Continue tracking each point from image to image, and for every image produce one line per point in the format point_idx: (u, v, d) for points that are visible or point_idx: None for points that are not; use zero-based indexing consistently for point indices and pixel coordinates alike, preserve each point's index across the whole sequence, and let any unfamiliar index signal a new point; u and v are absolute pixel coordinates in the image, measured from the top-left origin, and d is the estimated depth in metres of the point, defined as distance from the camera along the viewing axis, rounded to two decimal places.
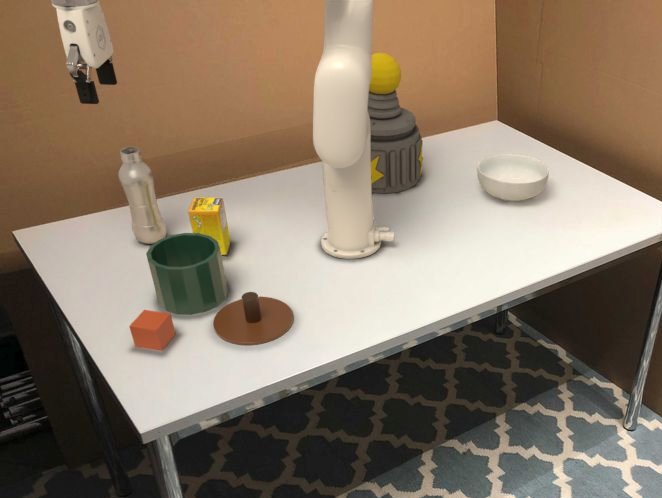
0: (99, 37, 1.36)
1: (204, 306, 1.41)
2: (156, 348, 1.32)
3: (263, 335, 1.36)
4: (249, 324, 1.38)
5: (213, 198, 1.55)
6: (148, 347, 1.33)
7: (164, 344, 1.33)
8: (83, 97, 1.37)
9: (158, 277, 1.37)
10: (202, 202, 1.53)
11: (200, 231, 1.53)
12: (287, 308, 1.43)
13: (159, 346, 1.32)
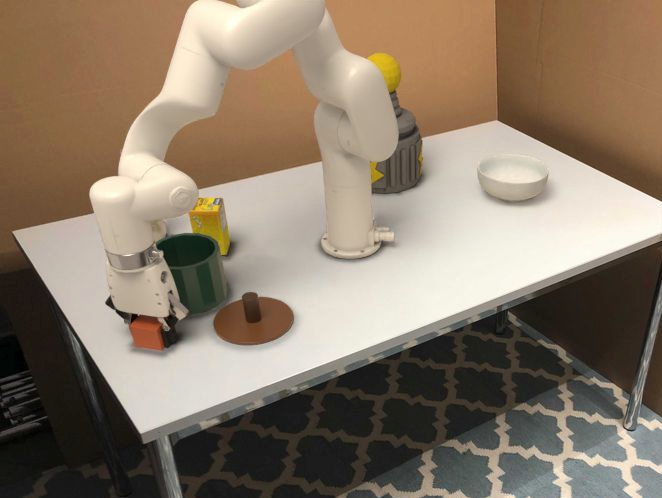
0: None
1: (204, 306, 1.41)
2: (156, 348, 1.32)
3: (263, 335, 1.36)
4: (249, 324, 1.38)
5: (213, 198, 1.55)
6: (148, 347, 1.33)
7: None
8: (173, 339, 1.33)
9: None
10: (202, 202, 1.53)
11: (200, 231, 1.53)
12: (287, 308, 1.43)
13: (159, 346, 1.32)
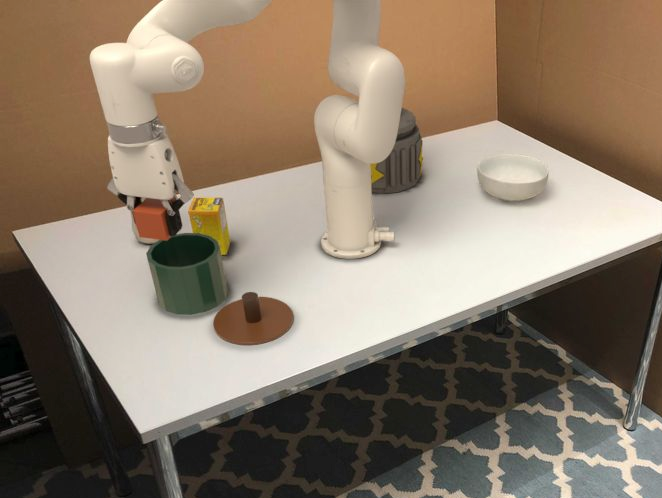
0: None
1: (204, 306, 1.41)
2: (161, 235, 1.28)
3: (263, 335, 1.36)
4: (249, 324, 1.38)
5: (213, 198, 1.55)
6: (152, 234, 1.28)
7: None
8: (178, 227, 1.29)
9: (158, 277, 1.37)
10: (202, 202, 1.53)
11: (200, 231, 1.53)
12: (287, 308, 1.43)
13: (164, 233, 1.28)
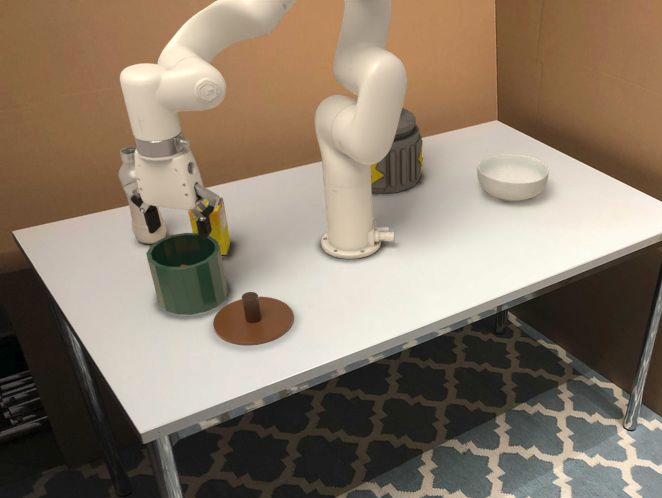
0: None
1: (204, 306, 1.41)
2: None
3: (263, 335, 1.36)
4: (249, 324, 1.38)
5: None
6: None
7: None
8: (208, 231, 1.36)
9: (158, 277, 1.37)
10: None
11: None
12: (287, 308, 1.43)
13: None
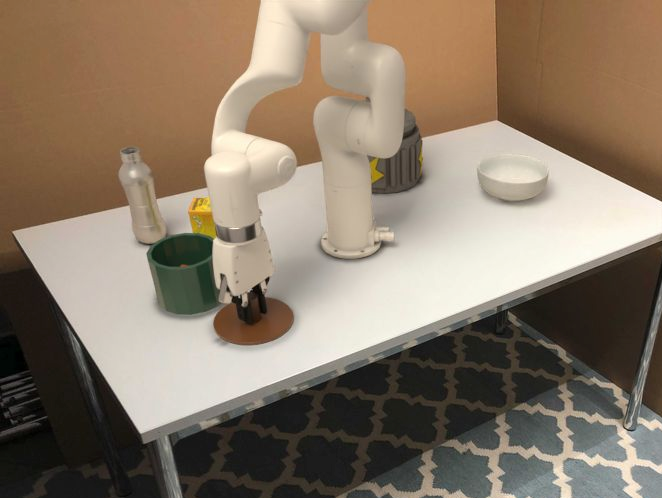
0: None
1: (204, 306, 1.41)
2: None
3: (263, 335, 1.36)
4: (249, 324, 1.38)
5: None
6: None
7: None
8: None
9: (158, 277, 1.37)
10: (202, 202, 1.53)
11: (200, 231, 1.53)
12: (287, 308, 1.43)
13: None
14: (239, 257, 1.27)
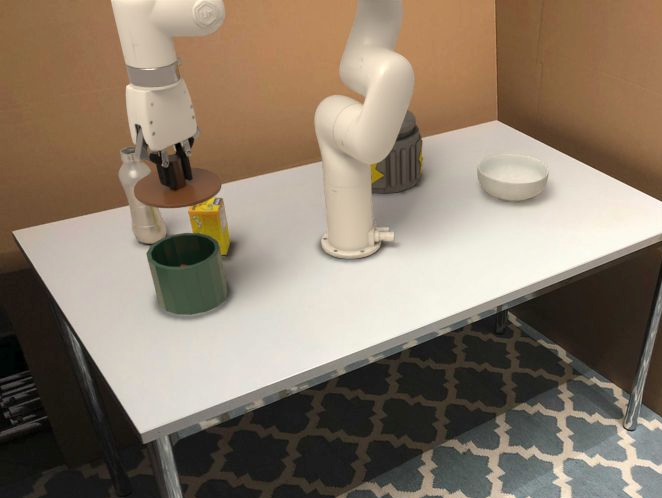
0: None
1: (204, 306, 1.41)
2: None
3: (186, 199, 1.27)
4: (173, 190, 1.29)
5: (213, 198, 1.55)
6: None
7: None
8: None
9: (158, 277, 1.37)
10: None
11: (200, 231, 1.53)
12: (215, 177, 1.33)
13: None
14: (154, 105, 1.18)
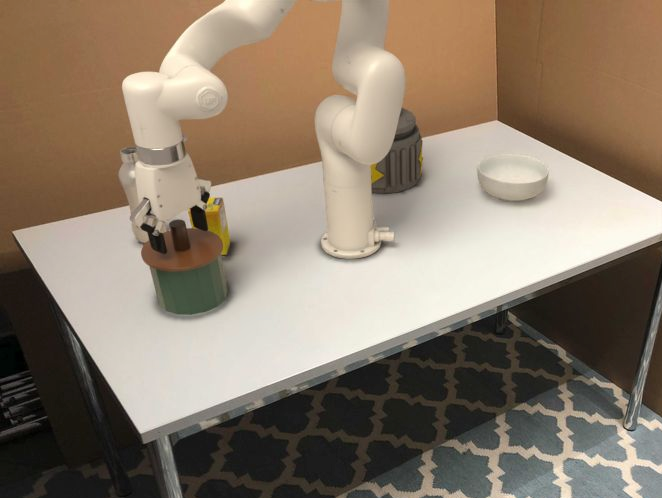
0: None
1: (204, 306, 1.41)
2: None
3: (189, 262, 1.36)
4: (178, 252, 1.38)
5: (213, 198, 1.55)
6: None
7: None
8: (205, 220, 1.41)
9: (158, 277, 1.37)
10: None
11: None
12: (217, 238, 1.42)
13: None
14: (162, 180, 1.27)
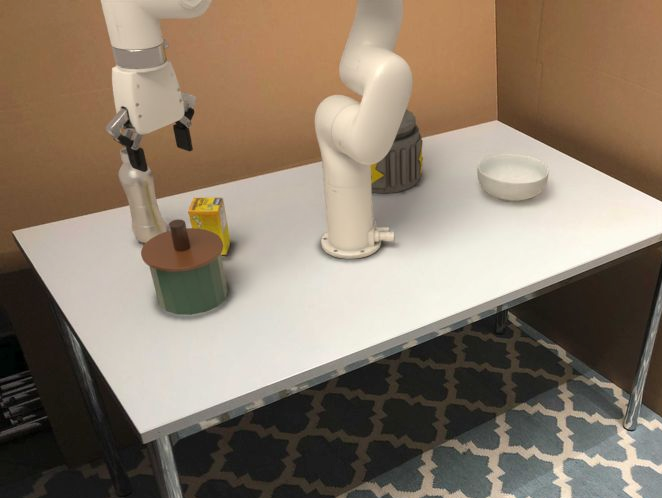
0: None
1: (204, 306, 1.41)
2: None
3: (189, 262, 1.36)
4: (178, 252, 1.38)
5: (213, 198, 1.55)
6: None
7: None
8: None
9: (158, 277, 1.37)
10: (202, 202, 1.53)
11: None
12: (217, 238, 1.42)
13: None
14: (140, 87, 1.17)
